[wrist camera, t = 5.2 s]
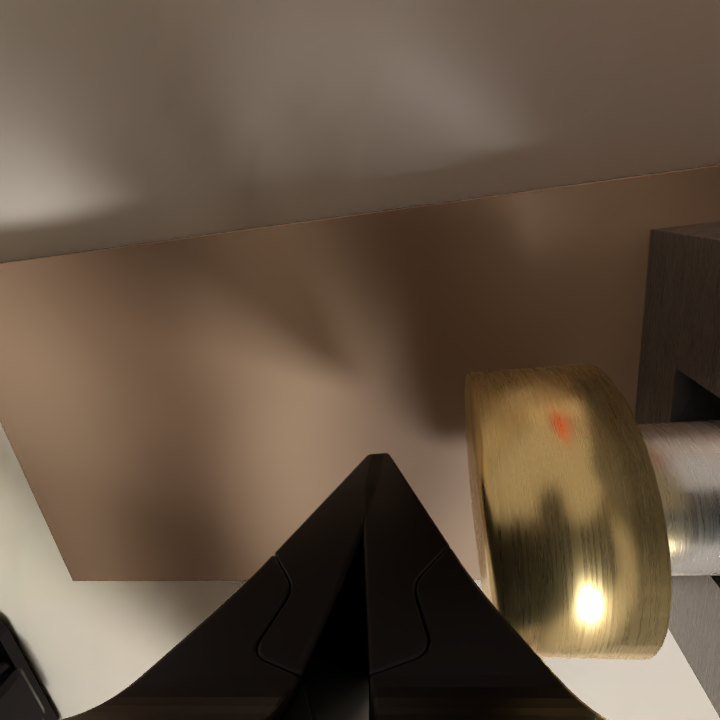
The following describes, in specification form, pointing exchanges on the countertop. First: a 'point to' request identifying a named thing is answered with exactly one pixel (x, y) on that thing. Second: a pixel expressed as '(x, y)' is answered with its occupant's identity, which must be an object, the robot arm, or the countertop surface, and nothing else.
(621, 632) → the shaft
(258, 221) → the countertop surface
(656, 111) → the countertop surface
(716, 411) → the bearing block
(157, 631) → the countertop surface
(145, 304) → the base board
